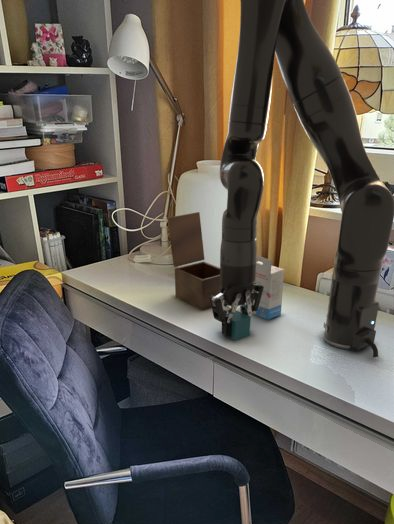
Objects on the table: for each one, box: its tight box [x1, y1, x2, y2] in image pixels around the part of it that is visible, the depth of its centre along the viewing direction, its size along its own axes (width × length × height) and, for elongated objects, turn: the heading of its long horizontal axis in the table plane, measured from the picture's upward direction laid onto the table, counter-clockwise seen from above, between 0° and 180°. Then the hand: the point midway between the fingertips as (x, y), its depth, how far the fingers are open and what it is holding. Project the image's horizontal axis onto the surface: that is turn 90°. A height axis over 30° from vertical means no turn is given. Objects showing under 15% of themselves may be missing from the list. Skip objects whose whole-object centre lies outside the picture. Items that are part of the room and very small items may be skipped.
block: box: [226, 309, 252, 341], centre depth 106 cm, size 4×4×4 cm
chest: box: [174, 260, 223, 311], centre depth 124 cm, size 12×10×8 cm
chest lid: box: [167, 211, 205, 268], centre depth 124 cm, size 12×10×1 cm
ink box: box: [252, 255, 285, 321], centre depth 114 cm, size 8×5×15 cm, turn 39°
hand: (235, 332), depth 107 cm, fingers closed on block, 4 cm apart
